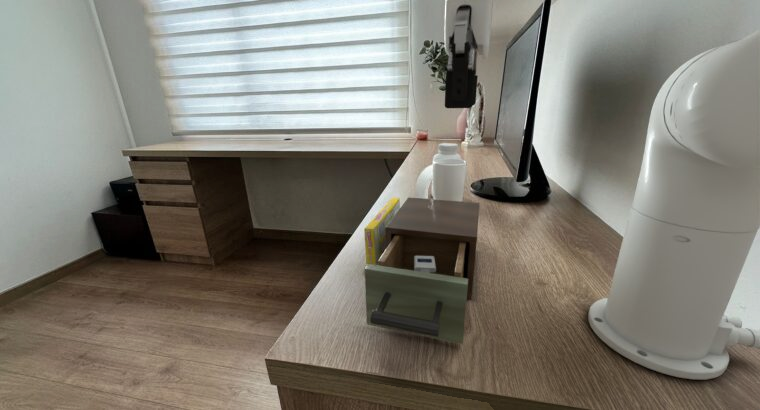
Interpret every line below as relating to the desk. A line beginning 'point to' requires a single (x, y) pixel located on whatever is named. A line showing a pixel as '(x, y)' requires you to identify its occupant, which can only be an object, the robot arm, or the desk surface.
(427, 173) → the headphone stand
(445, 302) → the drawer
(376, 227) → the candy box
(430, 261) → the wristwatch
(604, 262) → the desk surface
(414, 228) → the cabinet
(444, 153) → the pill bottle
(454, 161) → the white tall cylinder
